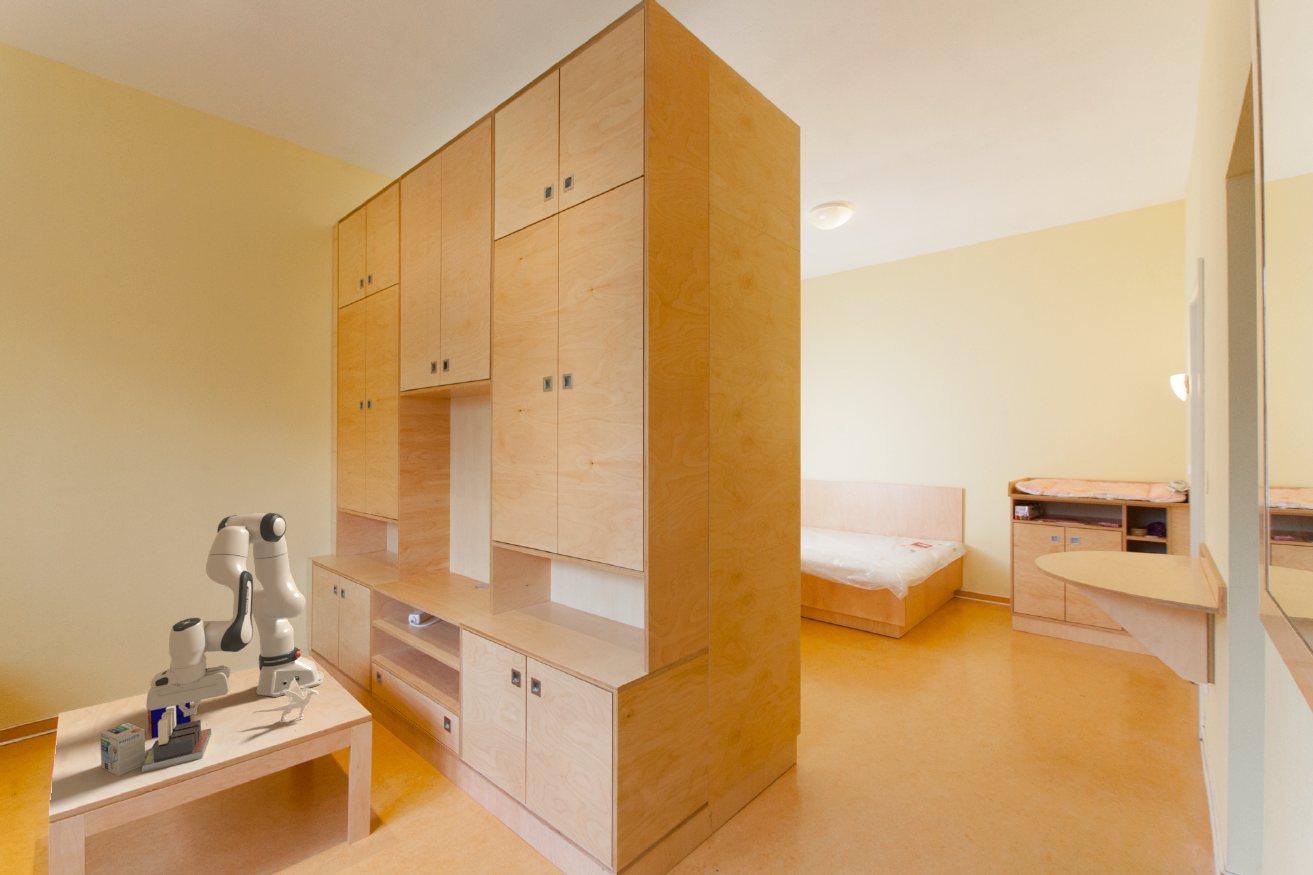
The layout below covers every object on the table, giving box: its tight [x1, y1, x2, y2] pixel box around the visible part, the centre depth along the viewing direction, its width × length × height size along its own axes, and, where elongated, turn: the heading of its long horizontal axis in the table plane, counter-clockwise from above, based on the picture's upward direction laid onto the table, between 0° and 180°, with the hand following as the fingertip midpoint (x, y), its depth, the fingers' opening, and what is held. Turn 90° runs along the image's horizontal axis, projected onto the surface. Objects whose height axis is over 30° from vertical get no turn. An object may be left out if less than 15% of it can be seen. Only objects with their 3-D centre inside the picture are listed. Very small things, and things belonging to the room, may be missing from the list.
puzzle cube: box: [147, 702, 192, 739], centre depth 192 cm, size 10×10×10 cm
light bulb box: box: [100, 722, 146, 777], centre depth 170 cm, size 11×7×11 cm, turn 65°
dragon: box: [251, 678, 320, 723], centre depth 195 cm, size 11×20×13 cm, turn 111°
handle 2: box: [166, 705, 176, 729], centre depth 180 cm, size 2×2×7 cm
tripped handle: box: [162, 711, 172, 736], centre depth 175 cm, size 2×2×7 cm
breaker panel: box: [141, 719, 212, 774], centre depth 177 cm, size 14×16×6 cm
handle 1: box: [157, 718, 169, 745], centre depth 171 cm, size 2×2×7 cm
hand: (190, 715), depth 178 cm, fingers closed
